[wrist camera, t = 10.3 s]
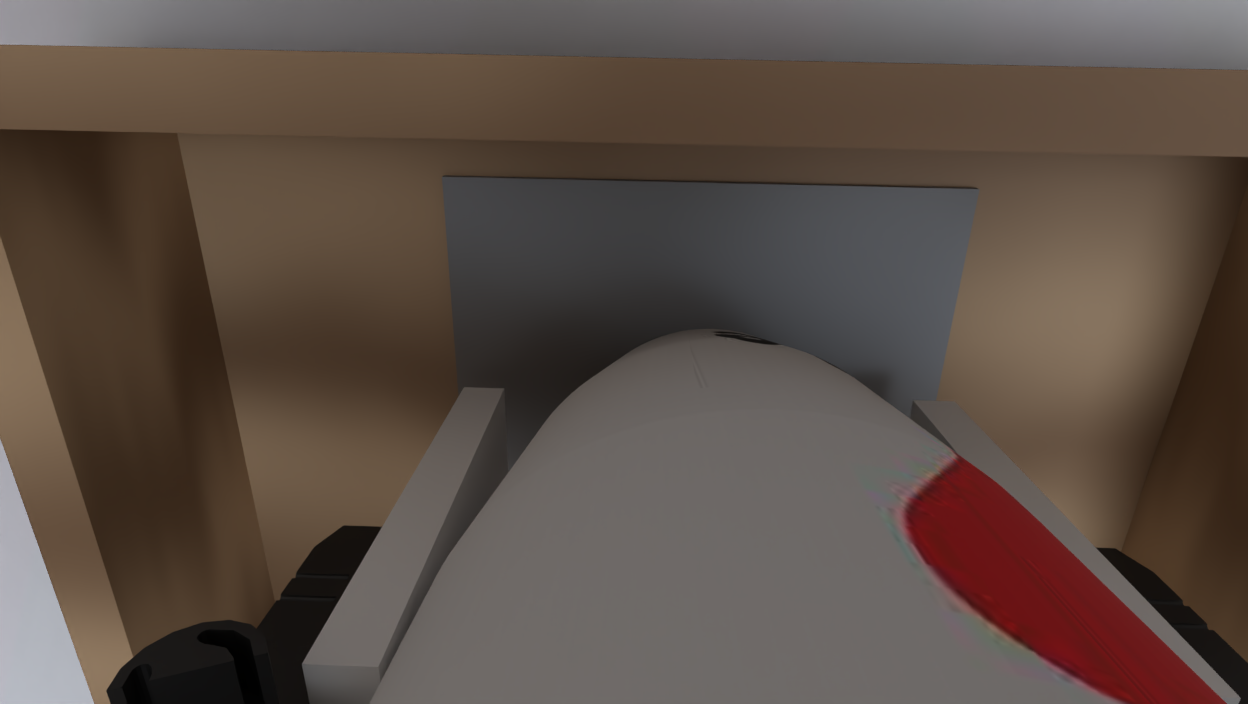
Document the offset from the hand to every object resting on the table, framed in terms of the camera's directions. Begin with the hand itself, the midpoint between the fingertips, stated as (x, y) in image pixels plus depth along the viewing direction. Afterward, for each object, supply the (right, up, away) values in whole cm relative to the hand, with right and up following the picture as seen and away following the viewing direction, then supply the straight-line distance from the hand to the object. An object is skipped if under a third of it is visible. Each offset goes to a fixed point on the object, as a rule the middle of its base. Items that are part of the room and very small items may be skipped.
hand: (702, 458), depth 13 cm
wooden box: (0, +1, +2) cm, 3 cm away
